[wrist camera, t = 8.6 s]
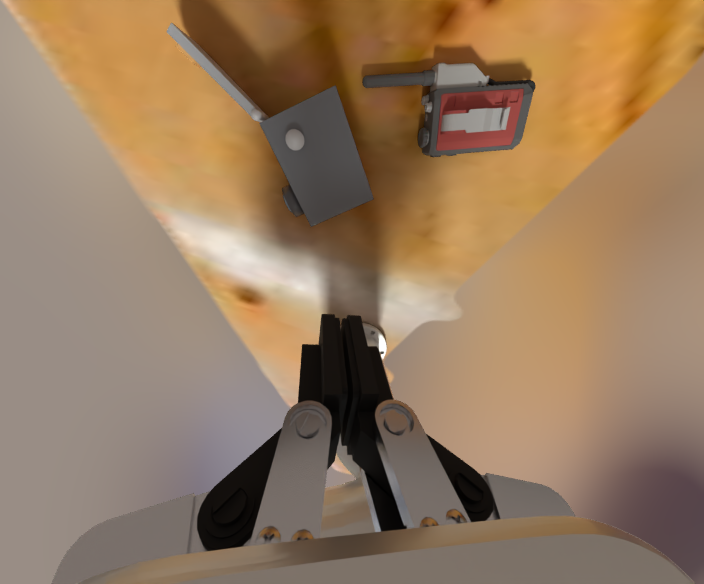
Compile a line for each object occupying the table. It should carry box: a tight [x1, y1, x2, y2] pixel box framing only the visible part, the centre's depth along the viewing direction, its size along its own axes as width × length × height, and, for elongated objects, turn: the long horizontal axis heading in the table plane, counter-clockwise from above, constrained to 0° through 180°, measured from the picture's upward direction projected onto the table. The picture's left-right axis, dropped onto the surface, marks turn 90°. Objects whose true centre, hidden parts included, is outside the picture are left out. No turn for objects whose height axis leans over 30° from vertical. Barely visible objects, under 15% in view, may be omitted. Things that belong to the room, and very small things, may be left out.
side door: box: [167, 23, 269, 122], centre depth 25 cm, size 1×9×5 cm, turn 45°
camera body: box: [260, 85, 374, 226], centre depth 29 cm, size 11×10×6 cm
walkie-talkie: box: [362, 63, 535, 157], centre depth 29 cm, size 9×4×20 cm
